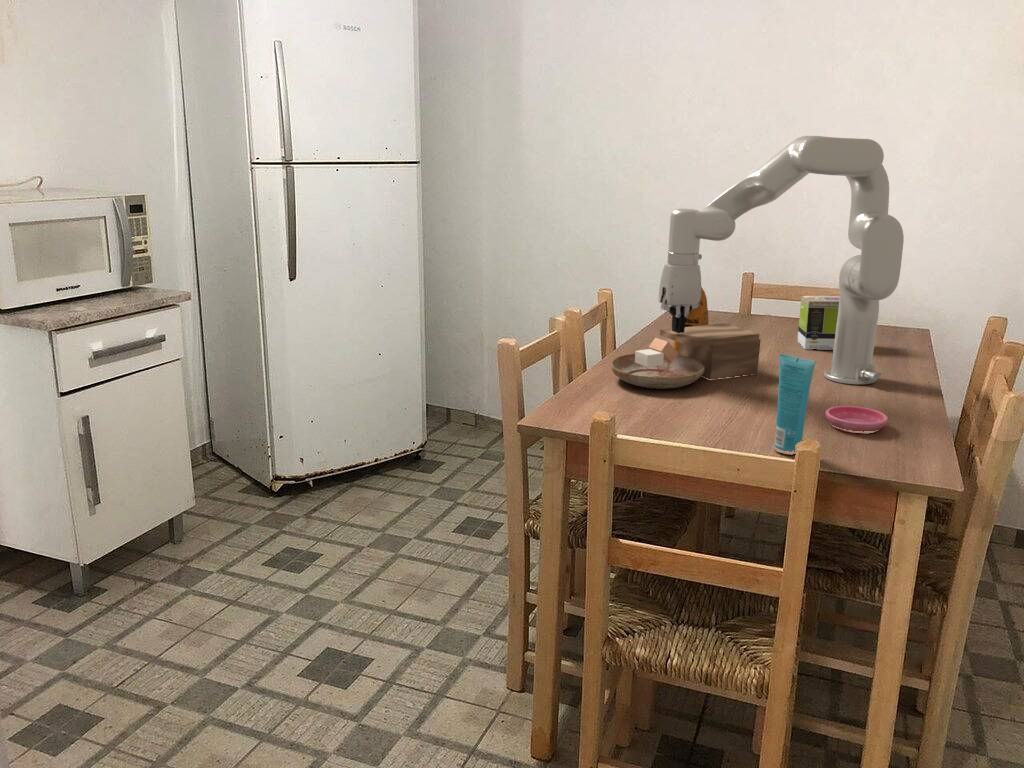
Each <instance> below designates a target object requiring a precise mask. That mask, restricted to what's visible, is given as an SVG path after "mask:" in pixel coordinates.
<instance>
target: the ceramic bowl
mask: <svg viewBox="0 0 1024 768" xmlns="http://www.w3.org/2000/svg"><path fill="white" fill-rule="evenodd" d="M610 370H611V371H612V373H613V374H614V375H615V376H616V377H617V378H619V379H621V380H622V381H624V382H626V383H628V384H629V385H633V386H636V387H641V388H645V387H646V388H645V389H654V388H656V389H657V390H662V389H663V390H664V389H665V390H666V389H667V390H669V388H670V389H676V388H682V387H685V386H688V385H690V384H692V383H694V382H697V380H699V379H700V378H702V377H701V376H702V375H703V373H704V365H703V364H702V363H701V362H699V361H697V360H695V359H693V358H690V357H687V356H683V355H677V356H676V357H675V359H674V360H673V362H669V361H666V360H663V365H658V366H651V367H645V366H643V365H640V364H638V363H635V352H634V353H629V354H623V355H620V356H617V357H614V358H613V359H612V360H611V361H610ZM645 374H646V375H660V376H650V377H649V376H640V375H645ZM664 376H665V377H664Z"/></svg>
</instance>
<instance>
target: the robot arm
mask: <svg viewBox="0 0 1024 768" xmlns="http://www.w3.org/2000/svg"><path fill="white" fill-rule="evenodd" d="M884 156H885V154H884V150H883V148H882V146H881V145H880V144H879V142H877V141H875V140H874V139H871V138H870V139H869V138H852V137H851V138H850V137H832V136H831V137H830V136H823V135H803V136H799V137H797V138H795V139H794V140H793V141H791V142H790V143H789V144H787V145H786V146H785V147H784V148H782V149H781V150H780V151H778V152H777V153H775V155H774V156H772V157H771V158H770V159H769V160H767V161H766V162H765V163H764V164H763V165H761V166H760V167H758V168H757V169H756V170H755V171H753V172H752V173H751V174H749V175H747V176H746V177H744V178H742V180H740V181H739V182H737V183H736V184H734V185H733V186H731V187H729V188H728V189H727V190H725V191H724V192H723V193H721V194H720V195H719V196H717V197H716V198H715V199H714V200H712V201H711V202H710V203H709V204H708V205H706V206H705V207H704V208H703V209H701V211H700V210H698V209H694V208H677V209H674V210H672V211H671V213H670V221H669V232H668V233H669V234H668V247H667V248H668V251H667V264H664V266H663V269H662V272H661V276H660V282H659V289H658V302H659V303H661V305H660V310H662V311H667V312H669V314H670V316H671V328H672V331H674V332H677V333H684V330H685V321H686V317H687V316H688V313H689V312H690V311H691V310H692V309H695V308H697V307H698V306H699V304H698V302H699V301H700V297H701V286H702V274H701V273H702V272H701V267H700V265H699V261H700V260H702V257H703V256H702V254H700V245H701V240H707V241H716V242H723V241H724V240H727V239H729V238H730V237H731V236H732V235H733V233H735V230H736V220H737V219H738V218H740V217H741V216H742V215H744V214H745V213H747V212H749V211H751V210H754V209H755V208H758V207H761V206H765V205H768V204H769V203H772V202H774V201H775V200H777V199H779V197H781V196H782V195H783V194H785V193H786V192H787V191H788V190H790V189H791V188H792V187H794V186H795V185H796V184H797V183H799V182H800V181H802V180H803V179H804V178H805V177H806V176H808V175H809V174H813V175H814V174H815V175H825V176H843V177H845V178H846V179H847V181H848V183H849V185H850V191H851V193H850V196H851V197H850V201H851V202H850V203H851V204H850V209H849V211H850V212H849V222H848V231H847V237H848V240H849V243H850V244H851V245H852V246H853V247H854V248H856V249H858V250H861V252H860V254H858V255H854V256H852V257H849V258H848V259H847V260H846V261H845V262H844V263H843V264H842V267H841V268H840V270H839V278H838V289H839V290H838V291H839V295H838V296H839V308H838V317H837V325H836V333H835V341H834V350H832V359H831V368H827V369H826V370H824V374H823V376H824V378H826V379H827V380H829V381H832V382H836V383H840V384H847V385H871V384H874V383H876V381H878V380H879V378H881V376H882V372H881V371H876V370H875V368H876V365H875V364H874V363H873V357H874V349H875V343H876V335H877V328H878V321H879V315H880V314H879V313H880V301H882V300H885V299H887V298H889V297H890V296H891V295H892V294H893V293H894V292H895V290H896V289H897V287H898V284H899V281H900V278H901V277H900V275H901V269H902V261H903V250H904V240H905V239H904V238H905V237H904V236H905V235H904V231H903V227H902V225H901V223H900V221H899V220H898V219H897V218H895V216H893V215H890V214H889V203H890V182H889V176H888V173H887V170H886V169H885V167H884V165H883V163H884Z"/></svg>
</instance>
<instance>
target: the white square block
mask: <svg viewBox="0 0 1024 768" xmlns="http://www.w3.org/2000/svg"><path fill="white" fill-rule="evenodd" d="M634 353H635V363H638V364H640V365H643V366H645V367H651V366H658V365H663V357H664V353H662V352H659V351H656V350H653V349H650V348H649V349H648V348H647V349H639V350H635V352H634Z"/></svg>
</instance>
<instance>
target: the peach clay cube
mask: <svg viewBox="0 0 1024 768" xmlns="http://www.w3.org/2000/svg"><path fill="white" fill-rule="evenodd" d="M648 348H649V349H653V350H656V351H659V352H662V353H664V357H663V360H666V361H669V362H673V360H674V359H675V357H676V356H677V355H678V352H677V351H676V350H675V349H674V346H673V345H672V344H671V343H670V342H668V341H667V340H663V339H660V338H658V337H654V339H653V340H652V342H651V343H650V344H649V345H648Z"/></svg>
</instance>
